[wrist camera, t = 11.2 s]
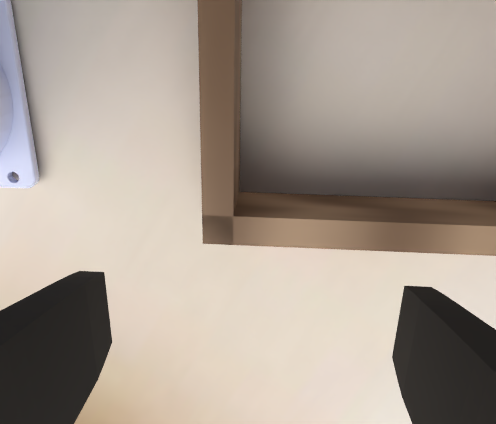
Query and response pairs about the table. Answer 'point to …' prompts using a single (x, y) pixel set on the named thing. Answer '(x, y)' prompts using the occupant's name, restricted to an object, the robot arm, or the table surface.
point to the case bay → (305, 205)
